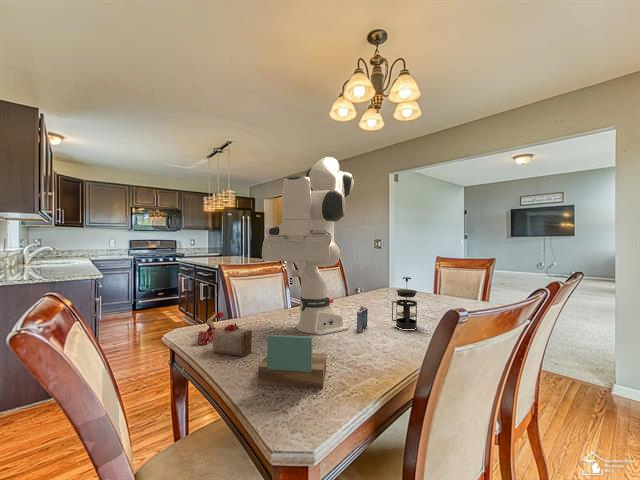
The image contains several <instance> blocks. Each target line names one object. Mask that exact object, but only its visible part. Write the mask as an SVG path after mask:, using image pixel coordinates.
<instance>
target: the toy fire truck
mask: <svg viewBox="0 0 640 480" xmlns="http://www.w3.org/2000/svg"><path fill="white" fill-rule="evenodd" d="M224 317H225V316H224V312H219V311H216V312H212V316H211V317H209V318H207V320H206V325H207V326H208V328H207V330H205V331H203V330H201V331H200V332H199V333H198V334H197V335H198V336H197V344H199V345H208V344H209V343H210V342H211V341H213V337H212V331H213V330H215V329H216V328H217V327H216V326H215V324H214V322H213V320H214V319H222V318H224Z"/></svg>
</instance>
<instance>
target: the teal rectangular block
mask: <svg viewBox="0 0 640 480" xmlns="http://www.w3.org/2000/svg"><path fill="white" fill-rule="evenodd" d="M266 349H267V351H266V355H267V369H270V370H287V371H305V372H311V371H312V353H313V336H306V335H305V336H304V335H284V334H283V335H282V334H281V335H279V334H268V335H267V348H266Z"/></svg>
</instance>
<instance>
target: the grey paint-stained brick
mask: <svg viewBox="0 0 640 480" xmlns="http://www.w3.org/2000/svg"><path fill="white" fill-rule="evenodd" d="M215 328H216V329H215V330H213V329H212V330H213V331H212V337H213V340H212V349H213V350H212V352H213V354H219V355H220V354H221V355H228V356H229V355H231V356H235V357H242V358H244V357H246V356H248V355H249V354H251V352H252V351H253V348H252V347H253V346H252V344H253V342H252V341H253V330H251V329H247V328H246V329H245V328H241V327H239V326H238V325H237V323H236V322H235V323H234V324H232V323H231V324H229V325H226V327H224V326H219V327H215Z"/></svg>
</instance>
